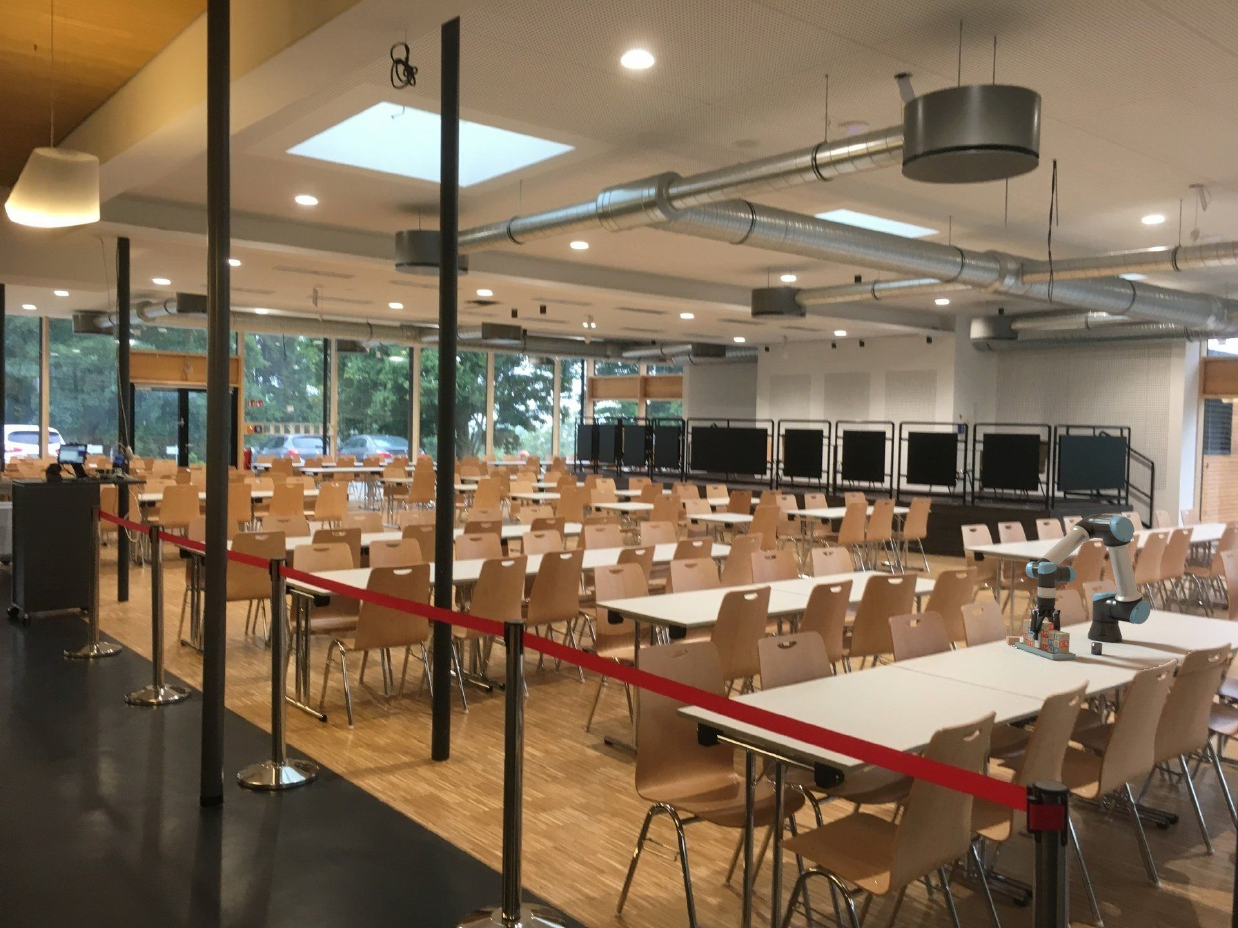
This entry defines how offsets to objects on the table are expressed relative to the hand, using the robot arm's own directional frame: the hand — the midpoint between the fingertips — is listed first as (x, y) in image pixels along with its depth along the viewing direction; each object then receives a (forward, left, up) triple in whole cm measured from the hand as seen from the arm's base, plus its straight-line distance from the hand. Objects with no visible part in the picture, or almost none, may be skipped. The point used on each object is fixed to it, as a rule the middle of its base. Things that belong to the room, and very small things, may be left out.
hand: (1044, 647), depth 444 cm
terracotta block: (+3, -19, -3) cm, 19 cm away
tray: (0, 0, -3) cm, 3 cm away
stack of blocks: (0, +1, -1) cm, 1 cm away
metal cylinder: (-24, +4, -3) cm, 24 cm away
